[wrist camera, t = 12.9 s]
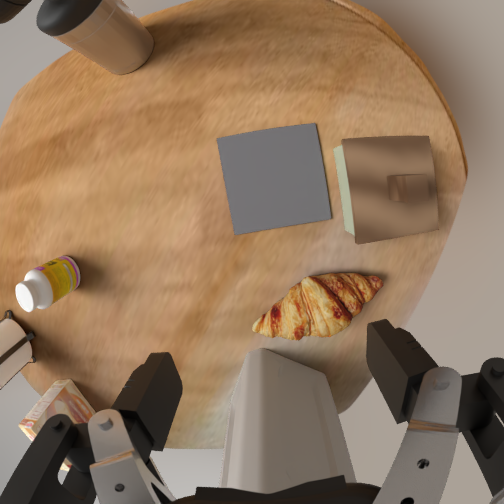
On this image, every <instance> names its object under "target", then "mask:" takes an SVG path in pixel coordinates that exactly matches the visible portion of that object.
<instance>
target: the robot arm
mask: <svg viewBox="0 0 504 504" xmlns="http://www.w3.org/2000/svg"><path fill="white" fill-rule="evenodd" d="M29 2H31V0H0V24H1V23H6V22H8V21H9V20H11V19H12V18H14V17H15V16H16V15H17V14H18V13H19V12H20V11H21V10H22V9H23V8H24V7H25V6H26V5H27V4H28V3H29ZM37 26H38V28H39V29H40V30H41V31H42V32H44V33H46V34H48V35H50V36H52V37H53V38H55V39H57V40H59V41H60V42H62V43H64V44H66V45H68V46H69V47H71V48H73V49H74V50H76V51H78V52H79V53H81V54H83V55H84V56H86V57H87V58H89V59H91V60H92V61H94V62H96V63H97V64H99V65H100V66H102V67H103V68H105V69H106V70H108V71H110V72H111V73H113V74H118V75H122V74H127V73H130V72H132V71H134V70H136V69H137V68H139V67H140V66H141V65H142V64H144V63H145V62H146V60H147V59H148V58H149V56H150V55H151V53H152V50H153V47H154V39H153V37H152V35H151V34H150V33H149V32H148V30H147V29H146V28H145V27H144V25H143V24H142V23H141V22H140V21H139V19H138V18H137V17H136V16H135V15H134V13H133V12H132V11H131V10H130V9H129V8H128V6H127V5H126V4H125V3H124V2H123V1H122V0H44V2H43V4H42V5H41V7H40V10H39V12H38V15H37ZM366 357H367V363H368V367H369V369H370V371H371V373H372V375H373V377H374V379H375V381H376V382H377V384H378V387H379V389H380V391H381V392H382V394H383V396H384V398H385V400H386V402H387V404H388V406H389V408H390V411H391V413H392V415H393V416H394V419H395V421H396V422H397V424H399V423H402V422H405V421H407V422H408V424H409V425H408V428H407V430H406V433H405V436H404V438H403V441H402V443H401V446H400V448H399V451H398V453H397V456H396V458H395V460H394V462H393V465H392V467H391V469H390V471H389V473H388V475H387V477H386V480H385V482H384V483H383V486H382V487H378V486H375V485H371V484H365V483H354V482H350V483H346V481H345V476H344V475H340V476H336V477H331V478H326V479H321V480H315V481H309V482H305V483H303V484H300V485H297V486H294V487H291V488H288V489H284V490H281V491H278V492H274V493H270V494H265V493H258V492H251V491H245V490H240V489H235V488H214V487H197V488H196V493H195V495H192V496H187V497H183V498H180V499H176V498H175V497H174V496H173V495H172V493H171V492H170V490H169V489H168V487H167V485H166V483H165V482H164V480H163V478H162V477H161V475H160V473H159V471H158V469H157V467H156V466H155V464H154V462H153V460H152V458H151V457H150V453H151V450H154V451H163V449H164V446H165V443H166V440H167V437H168V434H169V431H170V428H171V425H172V422H173V419H174V416H175V413H176V410H177V407H178V404H179V401H180V398H181V395H182V390H183V387H182V381H181V379H180V376H179V374H178V371H177V369H176V366H175V364H174V361H173V359H172V356H171V354H170V353H168V352H161V353H151V354H150V355H149V357H148V358H147V360H146V362H145V363H144V364H142V365H140V366H139V367H138V368H137V369H136V370H134V371H133V373H132V374H131V376H130V378H129V379H128V381H127V382H126V384H125V386H124V387H125V388H123V389H122V391H121V392H120V394H119V396H118V397H117V399H116V401H115V402H114V404H113V406H112V408H111V409H105V410H101V411H99V412H97V413H95V414H94V415H93V416H92V417H91V418H90V420H89V422H88V423H78V424H74V423H73V421H72V420H71V419H70V417H69V416H68V415H66V414H56V415H54V416H52V417H50V418H49V419H48V420H47V421H46V422H45V424H44V425H43V426H42V428H41V430H40V431H39V433H38V434H37V436H36V437H35V439H34V440H33V442H32V443H31V445H30V447H29V448H28V450H27V451H26V453H25V455H24V456H23V458H22V459H21V461H20V463H19V464H18V466H17V468H16V470H15V471H14V473H13V475H12V476H11V478H10V480H9V482H8V483H7V485H6V487H5V489H4V491H3V493H2V495H1V496H0V504H93V503H94V501H95V498H96V495H97V496H98V499H99V503H100V504H439V502H440V499H441V496H442V494H443V491H444V488H445V485H446V482H447V478H448V475H449V472H450V468H451V464H452V461H453V457H454V453H455V448H456V444H457V439H458V434H459V432H462V434H463V435H464V437H465V439H466V441H467V443H468V445H469V447H470V449H471V451H472V453H473V455H474V457H475V459H476V461H477V463H478V465H479V467H480V469H481V471H482V473H483V475H484V478H485V480H486V482H487V484H488V486H489V489H490V491H491V494H492V496H493V498H492V500H491V502H490V504H504V427H503V425H502V424H501V422H500V421H499V419H498V418H497V416H496V415H495V414H496V413H497V414H498V416H499V417H500V418H501V420H502V422H503V423H504V359H503V358H490V359H488V360H486V361H485V362H484V363H483V365H482V367H481V370H480V372H479V373H474V374H469V375H463V376H460V374H459V373H458V372H457V371H455V370H454V369H452V368H449V367H439V366H438V365H437V364H436V362H435V361H434V360H433V359H432V358H431V357H430V355H429V354H428V353H427V352H426V351H425V350H424V348H423V347H421V345H420V344H419V343H418V342H417V341H416V339H415V338H414V337H413V336H412V335H411V333H410V332H407V331H406V330H404V329H402V328H396V329H395V328H394V327H393V326H392V325H391V324H390V322H389V321H388V320H387V319H383V320H379V321H375V322H371V323H369V324H368V326H367V351H366ZM65 458H66V459H67V460H68V461H69V462H70V463H71V464H72V465H71V467H70V469H69V471H68V473H67V476H66V478H65V480H64V482H63V484H62V485H61V484H60V482H59V481H58V472H59V470H60V468H61V466H62V464H63V462H64V460H65Z"/></svg>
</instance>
